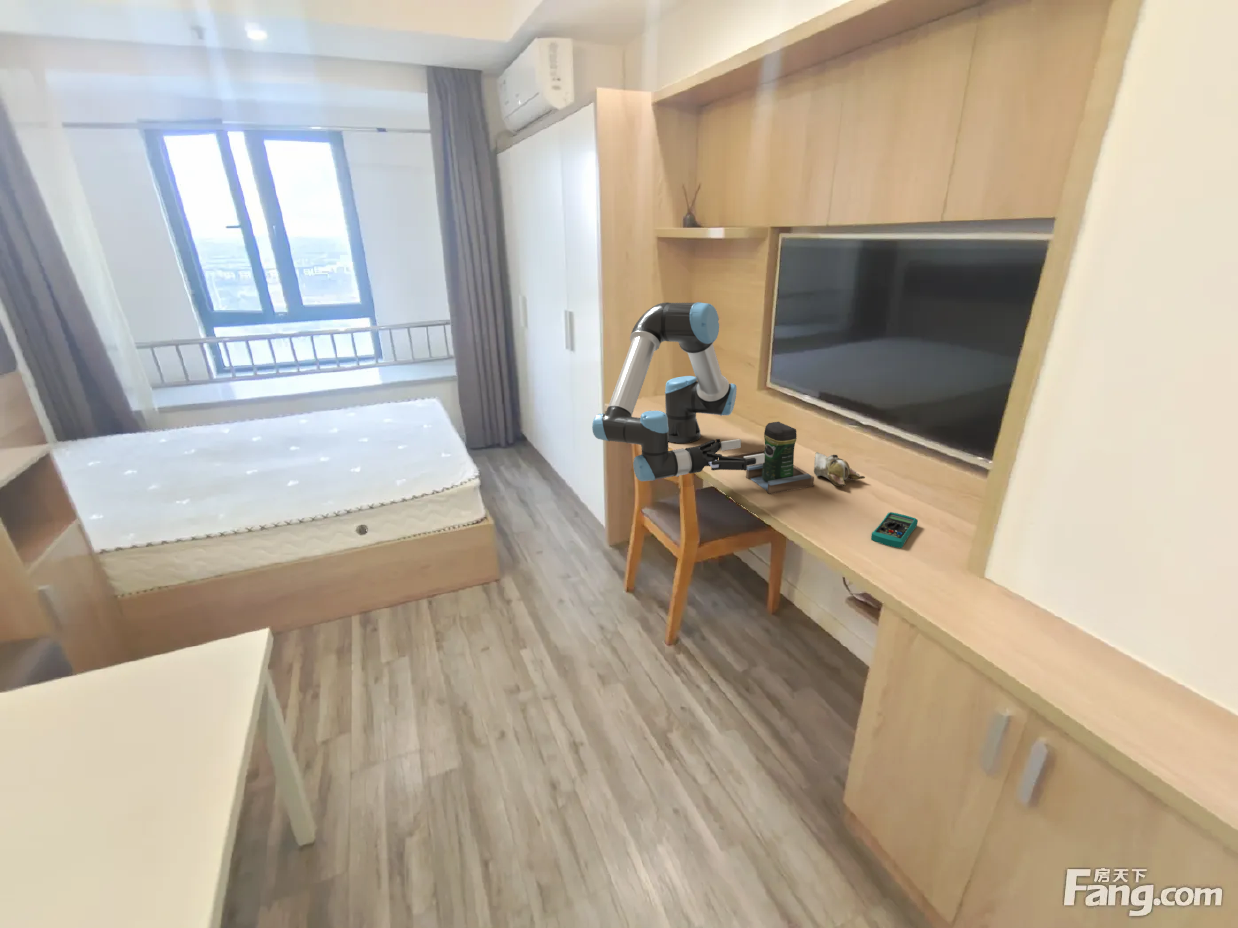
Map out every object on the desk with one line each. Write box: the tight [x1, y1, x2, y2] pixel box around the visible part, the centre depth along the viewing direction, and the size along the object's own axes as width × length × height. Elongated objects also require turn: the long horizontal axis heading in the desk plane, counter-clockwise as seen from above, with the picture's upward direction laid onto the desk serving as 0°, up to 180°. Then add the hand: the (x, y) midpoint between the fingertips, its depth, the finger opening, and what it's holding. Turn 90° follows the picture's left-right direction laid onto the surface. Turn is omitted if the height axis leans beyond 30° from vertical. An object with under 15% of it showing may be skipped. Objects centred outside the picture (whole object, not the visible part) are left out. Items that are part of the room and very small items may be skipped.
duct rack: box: [727, 449, 815, 495], centre depth 178 cm, size 26×15×4 cm, turn 18°
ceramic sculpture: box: [813, 451, 866, 487], centre depth 171 cm, size 11×9×15 cm
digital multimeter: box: [870, 511, 919, 549], centre depth 141 cm, size 7×15×3 cm, turn 140°
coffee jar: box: [762, 421, 798, 482], centre depth 170 cm, size 10×8×19 cm
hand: (751, 450), depth 166 cm, fingers open, 13 cm apart
